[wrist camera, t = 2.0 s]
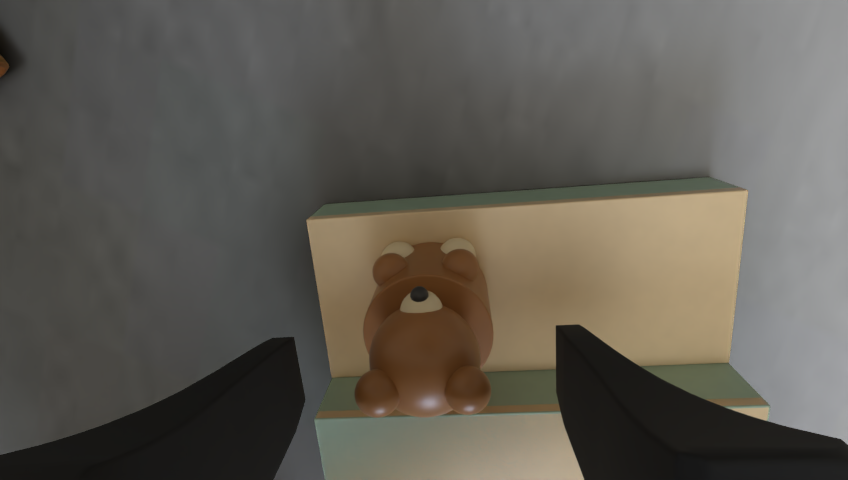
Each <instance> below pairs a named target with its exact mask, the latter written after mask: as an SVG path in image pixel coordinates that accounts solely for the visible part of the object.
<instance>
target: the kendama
mask: <svg viewBox="0 0 848 480" xmlns="http://www.w3.org/2000/svg"><path fill="white" fill-rule="evenodd" d="M8 68H9V65H8V63H7V62H6V60H5V59H4V58H3V57H2V56H1V55H0V77H2V76H3V75H4V74H5V73H6V71H7V70H8Z"/></svg>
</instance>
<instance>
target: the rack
mask: <svg viewBox="0 0 848 480" xmlns="http://www.w3.org/2000/svg"><path fill="white" fill-rule="evenodd" d="M747 197H748V190H746V189H743V188H740V187H737V186H734V185H731V184H729V183H726V182H723V181H720V180H717V179H714V178H712V177H705V178H691V179H677V180H662V181H648V182H634V183H620V184H605V185H591V186H577V187H562V188H548V189H534V190H520V191H505V192H491V193H477V194H463V195H448V196H434V197H420V198H405V199H391V200H377V201H363V202H348V203H334V204H324V205H323V206H322V207H321V208H320V209H319V210H317V211H316V212H315V213H314V214H313V215H312V216H311V217H309V218H308V219H307V220H306V221H307V228H308V234H309V240H310V246H311V252H312V258H313V265H314V271H315V277H316V283H317V289H318V296H319V302H320V308H321V314H322V320H323V326H324V333H325V339H326V345H327V351H328V357H329V364H330V370H331V376H332V380H331V382H330V384H329V387H328V389H327V391H326V393H325V396H324V398H323V400H322V403H321V405H320V407H319V410H318V412H317V414H316V417H315V419H314V421H315V427H316V432H317V438H318V443H319V449H320V454H321V460H322V466H323V471H324V477H325V480H584V477H583V475H582V472H581V469H580V467H579V464H578V462H577V459H576V456H575V454H574V451H573V448H572V446H571V443H570V440H569V438H568V435H567V432H566V430H565V427H564V424H563V420H562V415H561V411H560V407H559V402H558V398H557V394H556V325H575V324H579V325H581V326H583V327H584V328H586V329H587V330H588V331H590V332H591V333H592V334H594V335H595V336H596V337H598V338H599V339H601V340H602V341H603V342H605V343H606V344H607V345H609V346H610V347H612V348H613V349H614V350H616V351H617V352H619V353H620V354H622V355H623V356H625V357H626V358H628V359H629V360H631V361H632V362H634V363H635V364H637V365H639V366H640V367H642V368H644V369H645V370H647V371H649V372H650V373H652V374H654V375H656V376H657V377H659V378H661V379H663V380H665V381H667V382H669V383H671V384H673V385H675V386H677V387H679V388H681V389H683V390H685V391H687V392H689V393H691V394H694V395H696V396H698V397H700V398H703V399H705V400H708V401H710V402H713V403H715V404H718V405H721V406H723V407H726V408H728V409H731V410H734V411H737V412H740V413H743V414H746V415H749V416H752V417H755V418H758V419H762V420H765V421H768V419H769V412H770V405H769V404H768V403H767V402H766V401H765V400H764V399H763V398H762V397H761V396H760V395H759V394H758V393H757V392H756V391H755V390H754V389H753V388H752V387H751V386H750V385H749V384H748V383H747V382H746V381H745V380H744V379H743V378H742V377H741V375H740V374H739V373H738V372H737V371H736V370H735V369H734V368H733V367H732V366H731V365H730V364H729V358H730V349H731V340H732V331H733V322H734V313H735V304H736V296H737V287H738V278H739V269H740V260H741V251H742V242H743V233H744V224H745V215H746V206H747ZM452 238H462V239H465V240H467V241H468V242H470V243H471V244H472V246H473V247H474V249H475V252H476V258H477V260H478V263H479V267H480V269H481V270H482V272H483V275H484V277H485V280H486V283H487V289H488V296H489V303H490V310H491V316H492V323H493V331H494V336H493V345H492V349H491V352H490V355H489V357H488V359H487V361H486V362H485V364H484V365H483V367H482V368H481V369H480V370H481V371H483V372H484V373H485V375H486V376H487V377H488V379H489V381H490V385H491V397H490V400H489V402H488V404H487V406H486V407H485V408H484V409H483V410H482V411H480V412H478V413H476V414H472V415H464V414H460V413H458V412H456V411H455V410H452V411H450V412H448V413H445V414H443V415H440V416H436V417H428V418H421V417H414V416H410V415H407V414H404V413H402V412H400V411H398V410H396V409H395V410H394V411H393V412H392V413H390V414H389V415H387V416H384V417H379V418H375V417H370V416H368V415H366V414H364V413H363V412H362V411H361V410H360V409H359V407H358V406H357V404H356V401H355V387H356V384H357V382H358V380H359V379H360V378H361V376H362V375H363V374H365V373H366V372H368V371H370V368H369V354H368V352H367V349H366V347H365V343H364V338H363V324H364V319H365V315H366V312H367V309H368V307H369V304H370V302H371V300H372V297H373V295H374V292H375V290H376V287H377V283H376V282H375V280H374V278H373V274H372V270H373V265H374V263H375V261H376V260H377V259H378V258H379V257H380V256H381V255H382V252H383V250H384V249H385V248H386V247H387V246H388V245H389V244H391V243H393V242H398V241H401V242H406V243H408V244H410V245H411V246H413V245H416V244H420V243H427V242H437V243H445V242H446V241H447V240H449V239H452Z"/></svg>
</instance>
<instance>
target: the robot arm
mask: <svg viewBox="0 0 848 480" xmlns="http://www.w3.org/2000/svg"><path fill="white" fill-rule="evenodd" d="M556 394H557V398H558V402H559V407H560V411H561V415H562V420H563V424H564V427H565V430H566V432H567V435H568V438H569V440H570V443H571V446H572V448H573V451H574V454H575V456H576V459H577V462H578V464H579V467H580V469H581V472H582V475H583V477H584V480H848V445H847V444H846V443H845V442H844V441H842V440H841V439H837V438H833V437H828V436H824V435H820V434H816V433H811V432H807V431H803V430H798V429H794V428H790V427H786V426H782V425H778V424H775V423H772V422H768V421H765V420H762V419H758V418H755V417H752V416H749V415H746V414H743V413H740V412H737V411H734V410H731V409H728V408H726V407H723V406H721V405H718V404H715V403H713V402H710V401H708V400H705V399H703V398H700V397H698V396H696V395H694V394H691V393H689V392H687V391H685V390H683V389H681V388H679V387H677V386H675V385H673V384H671V383H669V382H667V381H665V380H663V379H661V378H659V377H657V376H656V375H654V374H652V373H650V372H649V371H647V370H645V369H644V368H642V367H640V366H639V365H637V364H635V363H634V362H632V361H631V360H629V359H628V358H626V357H625V356H623V355H622V354H620V353H619V352H617V351H616V350H614V349H613V348H612V347H610V346H609V345H607V344H606V343H605V342H603V341H602V340H601V339H599V338H598V337H596V336H595V335H594V334H592V333H591V332H590V331H588V330H587V329H586V328H584V327H583V326H581V325H579V324H575V325H556ZM304 403H305V395H304V390H303V385H302V379H301V374H300V368H299V363H298V357H297V352H296V347H295V341H294V337H284V338H272V339H269V340H267V341H265V342H263V343H262V344H260V345H258V346H256V347H255V348H253V349H251V350H250V351H248V352H246V353H245V354H243V355H241V356H240V357H238V358H237V359H235V360H233V361H232V362H230V363H228V364H227V365H225V366H224V367H222V368H220V369H219V370H217V371H215V372H214V373H212V374H210V375H208V376H207V377H205V378H203V379H201V380H199V381H198V382H196V383H194V384H192V385H191V386H189V387H187V388H185V389H184V390H182V391H180V392H178V393H176V394H174V395H172V396H170V397H168V398H166V399H164V400H162V401H160V402H157V403H155V404H153V405H151V406H149V407H147V408H144V409H142V410H140V411H137V412H135V413H132V414H130V415H127V416H125V417H122V418H120V419H117V420H115V421H112V422H110V423H107V424H104V425H102V426H99V427H96V428H93V429H90V430H87V431H85V432H82V433H79V434H76V435H72V436H69V437H66V438H63V439H59V440H56V441H53V442H49V443H46V444H42V445H39V446H35V447H31V448H27V449H23V450H19V451H15V452H11V453H7V454H3V455H0V480H273V479H274V477H275V475H276V473H277V470H278V468H279V466H280V464H281V462H282V460H283V458H284V456H285V454H286V452H287V449H288V447H289V445H290V443H291V441H292V439H293V436H294V434H295V432H296V429H297V426H298V423H299V420H300V417H301V413H302V410H303V406H304Z"/></svg>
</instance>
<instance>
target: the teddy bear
mask: <svg viewBox="0 0 848 480" xmlns="http://www.w3.org/2000/svg"><path fill="white" fill-rule="evenodd" d="M372 274H373V278H374V280H375V282H376V283H377V287H376V290H375V292H374V295H373V297H372V300H371V302H370V304H369V307H368V309H367V312H366V315H365V319H364V324H363V338H364V343H365V347H366V349H367V352H368V354H369V368H370V371H368V372H366V373H365V374H363V375H362V376H361V378H360V379H359V380H358V382H357V384H356V387H355V401H356V404H357V406H358V407H359V409H360V410H361V411H362V412H363V413H364V414H366V415H368V416H370V417H375V418H379V417H384V416H387V415H389V414H390V413H392V412H393V411H394V410H395V409H396V410H398V411H400V412H402V413H404V414H407V415H410V416H414V417H421V418H428V417H436V416H440V415H443V414H445V413H448V412H450V411H452V410H455V411H456V412H458V413H460V414H464V415H472V414H476V413H478V412H480V411H482V410H483V409H484V408H485V407H486V406H487V404H488V402H489V400H490V397H491V385H490V381H489V379H488V377H487V376H486V375H485V373H484V372H483V371H481V370H480V369H481V368H482V367H483V365H484V364H485V362H486V361H487V359H488V357H489V355H490V352H491V349H492V345H493V336H494V331H493V323H492V316H491V310H490V303H489V296H488V289H487V283H486V280H485V277H484V275H483V272H482V270H481V269H480V267H479V263H478V260H477V258H476V252H475V249H474V247H473V246H472V244H471V243H470V242H468V241H467V240H465V239H462V238H452V239H449V240H447V241H446V242H445V243H437V242H427V243H420V244H416V245H413V246H411V245H410V244H408V243H406V242H401V241H398V242H393V243H391V244H389V245H388V246H387V247H386V248H385V249H384V250H383V252H382V255H381V256H380V257H379V258H378V259H377V260H376V261H375V263H374V265H373V270H372Z"/></svg>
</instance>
